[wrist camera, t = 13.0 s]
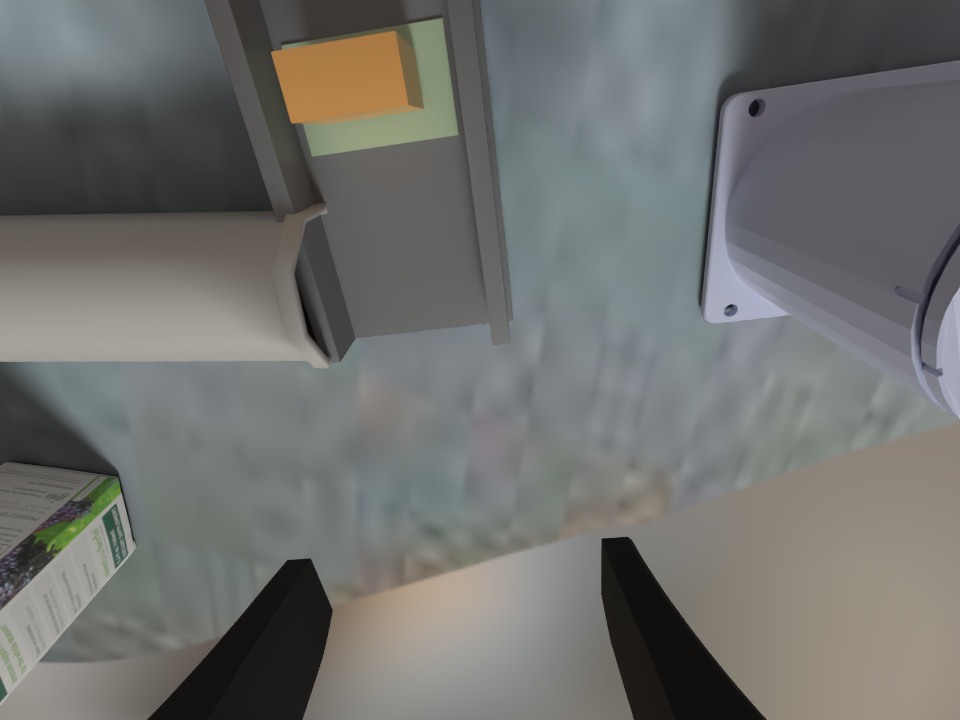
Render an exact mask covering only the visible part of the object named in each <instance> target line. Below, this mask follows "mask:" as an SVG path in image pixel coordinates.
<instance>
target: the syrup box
mask: <svg viewBox="0 0 960 720" xmlns="http://www.w3.org/2000/svg"><path fill="white" fill-rule="evenodd" d="M135 548H136V544H135V542H134V541H133V539H132V535H131V529H130V524H129V520H128V516H127V512H126V508H125V504H124V500H123V496H122V493H121V489H120V483H119V479H118V478H117V477H115V476H108V475H102V474H95V473H88V472H81V471H74V470H68V469H59V468H53V467H45V466H37V465H30V464H21V463H15V462H6V463H4V464H3V465H1V466H0V705H1V704H2V703H3V702H4V700H5V699H6V698H7V697H8V696H9V695H10V693H11V692H12V691H13V690H14V689H15V688H16V687H17V685H18V684H19V683H20V682H21V681H22V680H23V678H24V677H25V676H26V675H27V674H28V673H29V672H30V670H31V669H32V668H33V667H34V666H35V665H36V664H37V662H38V661H39V660H40V659H41V658H42V657H43V656H44V654H45V653H46V652H47V651H48V650H49V649H50V647H51V646H52V645H53V644H54V643H55V642H56V640H57V639H58V638H59V637H60V636H61V635H62V633H63V632H64V631H65V630H66V629H67V628H68V627H69V625H70V624H71V623H72V622H73V621H74V620H75V619H76V617H77V616H78V615H79V614H80V613H81V611H82V610H83V609H84V608H85V607H86V606H87V605H88V603H89V602H90V601H91V600H92V599H93V598H94V596H95V595H96V594H97V593H98V592H99V591H100V589H101V588H102V587H103V586H104V585H105V584H106V582H107V581H108V580H109V579H110V578H111V577H112V576H113V574H114V573H115V572H116V571H117V570H118V569H119V568H120V567H121V565H122V564H123V563H124V562H125V561H126V560H127V558H128V557H129V556H130V555H131V554H132V553H133V551H134V549H135Z"/></svg>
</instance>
